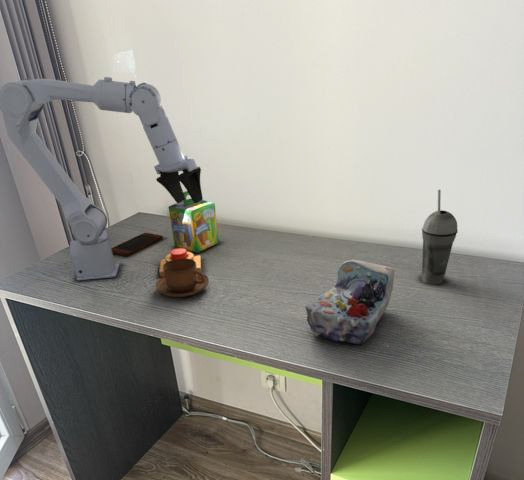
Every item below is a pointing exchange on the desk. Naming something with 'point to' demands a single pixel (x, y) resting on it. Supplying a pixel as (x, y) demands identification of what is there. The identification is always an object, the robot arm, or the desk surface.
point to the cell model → (352, 302)
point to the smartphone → (136, 244)
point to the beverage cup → (437, 244)
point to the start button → (178, 254)
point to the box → (189, 256)
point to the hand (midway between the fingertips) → (189, 201)
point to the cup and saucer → (181, 279)
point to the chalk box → (194, 224)
